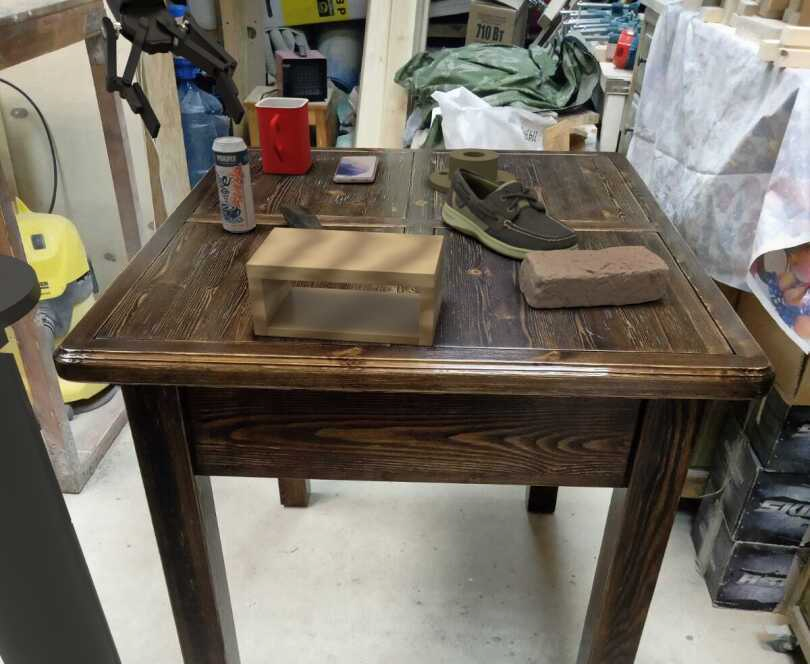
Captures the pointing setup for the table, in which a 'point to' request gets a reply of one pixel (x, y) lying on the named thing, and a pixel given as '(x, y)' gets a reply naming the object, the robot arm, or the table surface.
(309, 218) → the tool
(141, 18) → the robot arm
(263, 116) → the mug
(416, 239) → the shelf
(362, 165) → the smartphone
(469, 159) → the flange
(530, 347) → the table surface
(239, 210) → the beer can
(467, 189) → the boat shoe
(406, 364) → the table surface
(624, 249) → the brick
